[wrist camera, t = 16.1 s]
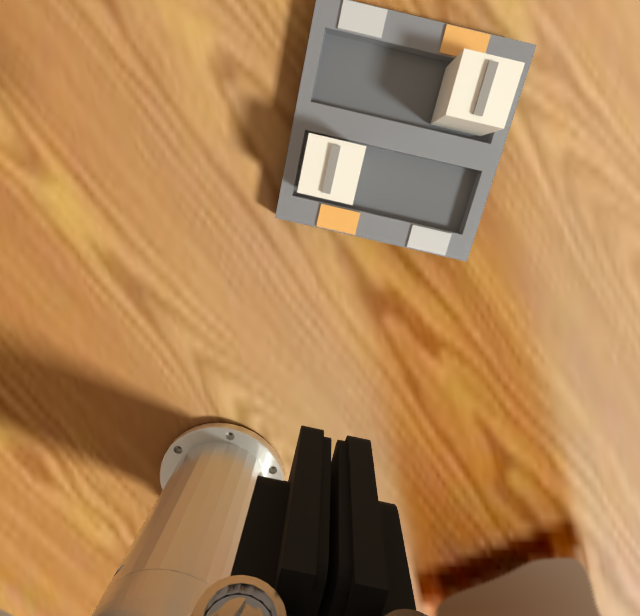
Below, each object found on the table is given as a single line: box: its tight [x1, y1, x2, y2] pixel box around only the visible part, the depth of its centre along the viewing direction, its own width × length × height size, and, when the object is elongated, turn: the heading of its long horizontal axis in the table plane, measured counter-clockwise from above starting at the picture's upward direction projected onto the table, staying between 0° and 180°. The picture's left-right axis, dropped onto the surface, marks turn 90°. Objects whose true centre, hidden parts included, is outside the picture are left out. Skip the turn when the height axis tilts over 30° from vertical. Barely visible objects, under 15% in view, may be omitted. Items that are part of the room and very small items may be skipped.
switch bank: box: [275, 0, 536, 262], centre depth 34 cm, size 16×16×2 cm
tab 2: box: [297, 133, 366, 205], centre depth 32 cm, size 4×4×5 cm
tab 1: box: [431, 48, 525, 136], centre depth 31 cm, size 4×4×5 cm
